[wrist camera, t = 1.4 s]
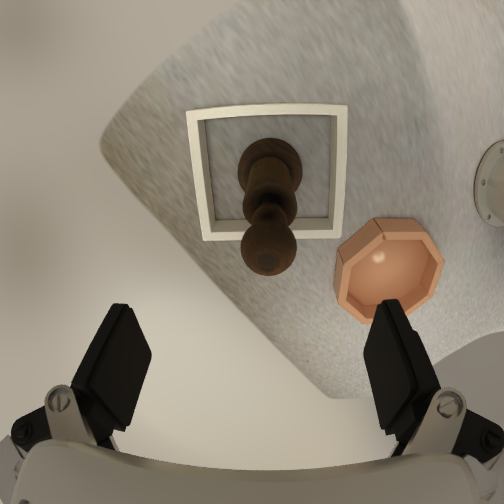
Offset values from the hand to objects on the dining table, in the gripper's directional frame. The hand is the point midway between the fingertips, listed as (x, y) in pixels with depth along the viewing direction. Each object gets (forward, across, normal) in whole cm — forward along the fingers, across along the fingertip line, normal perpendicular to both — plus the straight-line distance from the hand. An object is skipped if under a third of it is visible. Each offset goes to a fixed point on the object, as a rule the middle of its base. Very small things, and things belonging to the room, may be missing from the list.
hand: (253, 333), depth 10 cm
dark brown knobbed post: (+23, -1, 0) cm, 23 cm away
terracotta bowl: (+22, -16, +13) cm, 30 cm away
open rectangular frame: (+23, -1, 0) cm, 23 cm away
